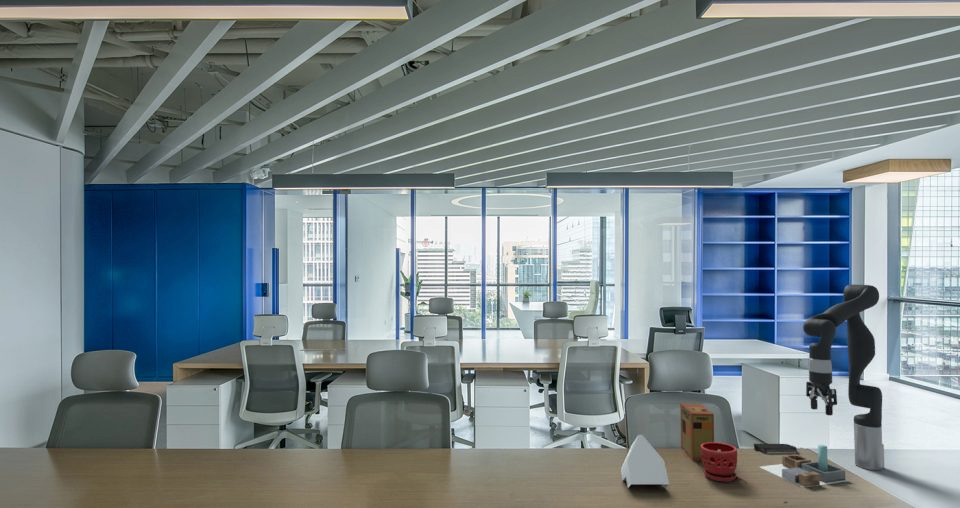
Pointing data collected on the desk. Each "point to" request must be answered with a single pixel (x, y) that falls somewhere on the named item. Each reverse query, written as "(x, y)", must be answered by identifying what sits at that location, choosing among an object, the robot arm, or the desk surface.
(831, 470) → the tray
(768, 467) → the board
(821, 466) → the dowel
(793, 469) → the grey rectangular brick
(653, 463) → the slotted wedge
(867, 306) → the robot arm
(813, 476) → the brown wooden block
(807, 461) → the socket
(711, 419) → the box
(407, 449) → the desk surface
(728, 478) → the plant pot
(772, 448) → the black sponge
